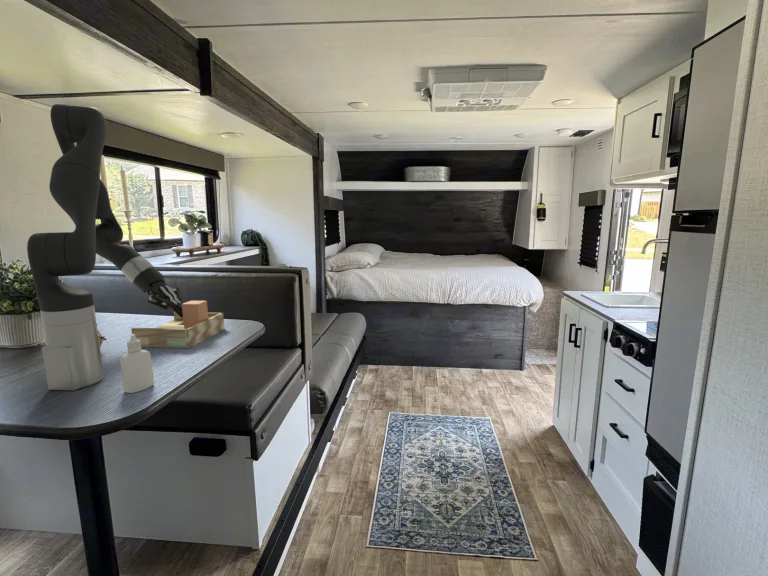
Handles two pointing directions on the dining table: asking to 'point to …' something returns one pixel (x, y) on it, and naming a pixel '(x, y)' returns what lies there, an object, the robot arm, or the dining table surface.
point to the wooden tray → (179, 332)
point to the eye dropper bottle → (136, 367)
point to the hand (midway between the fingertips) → (185, 315)
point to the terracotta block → (194, 313)
